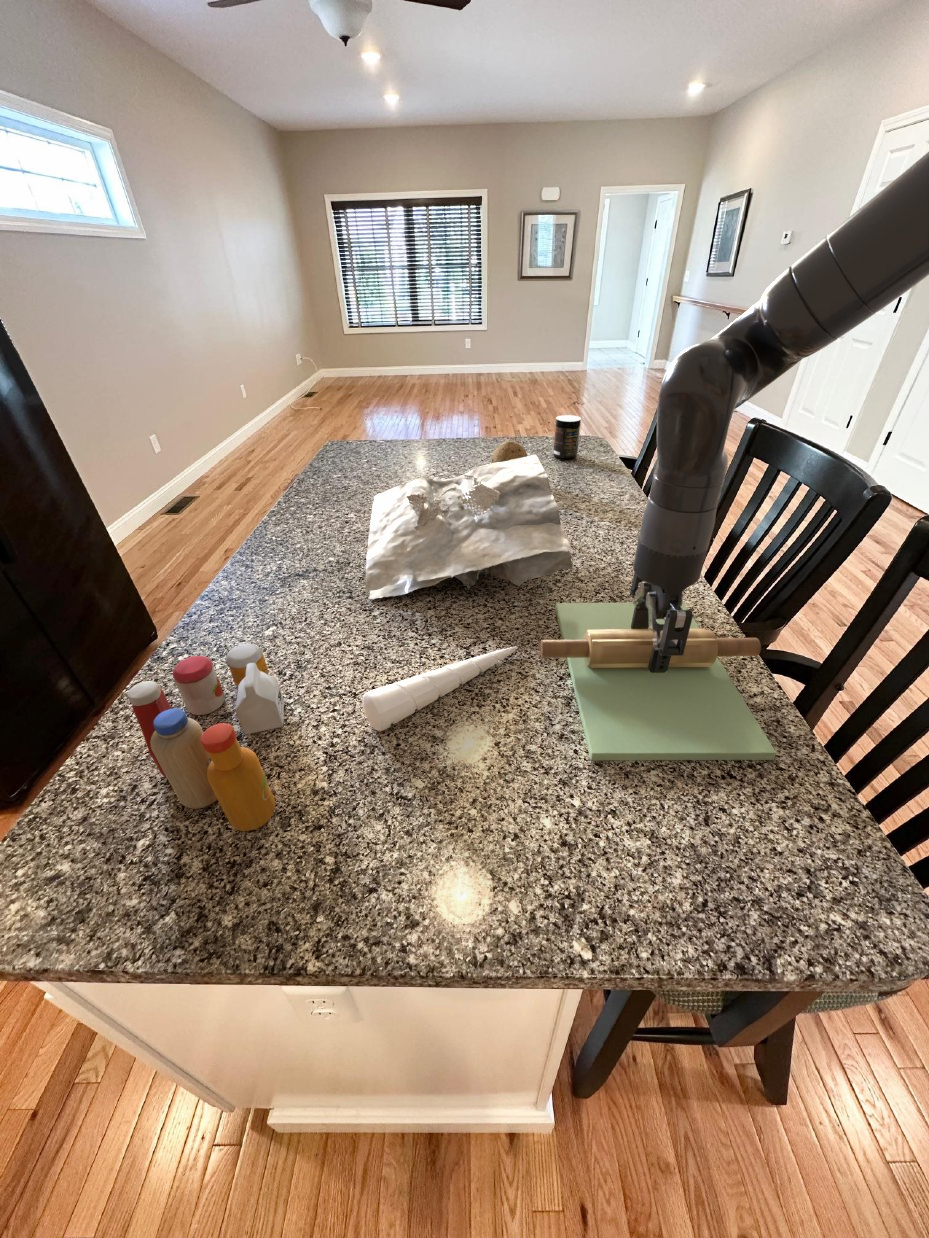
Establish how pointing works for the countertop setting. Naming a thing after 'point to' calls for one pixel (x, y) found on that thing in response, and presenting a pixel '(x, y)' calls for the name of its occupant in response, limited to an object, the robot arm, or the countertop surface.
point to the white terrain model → (466, 529)
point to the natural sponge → (508, 452)
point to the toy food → (213, 735)
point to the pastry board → (657, 702)
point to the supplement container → (566, 437)
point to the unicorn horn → (423, 689)
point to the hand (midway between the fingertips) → (647, 649)
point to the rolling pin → (646, 648)
